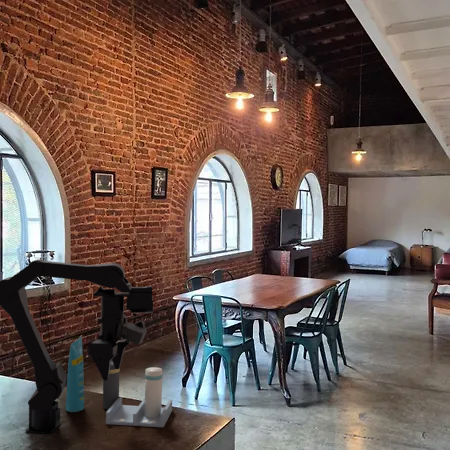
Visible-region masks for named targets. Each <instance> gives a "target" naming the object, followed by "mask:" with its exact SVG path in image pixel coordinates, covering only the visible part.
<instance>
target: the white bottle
mask: <svg viewBox="0 0 450 450" xmlns="http://www.w3.org/2000/svg"><path fill="white" fill-rule="evenodd" d="M144 374H145V375H144V378H145V379H144V380H145V382H144V398H145V417H147V418H157V417H160V415H161V407H162V395H163V393H162V392H163V368H161V367H157V366H156V367H155V366H154V367H151V366H150V367H147V368H146V369H145V373H144Z"/></svg>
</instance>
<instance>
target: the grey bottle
mask: <svg viewBox="0 0 450 450" xmlns="http://www.w3.org/2000/svg"><path fill="white" fill-rule="evenodd" d="M120 371H121V370H120V368H119V369H115V367H114V364H113V361H111V366H110V372H109V377H108V380H103V379H102V409H103V410H107V411H108V409H109V408H110V407H111V406H112V405H113V404H114V403H115V401H116V400H117V399H118V398H119V397H120Z"/></svg>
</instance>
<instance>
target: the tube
mask: <svg viewBox="0 0 450 450" xmlns="http://www.w3.org/2000/svg"><path fill="white" fill-rule="evenodd" d="M83 351H84V349H83V340H82V336H80V337H78V339H77V340H75V341H74V342H71V344H70V349H69V355H68V363H67V376H66V396H65V397H66V398H65V411H66V412H69V413H78V412H80V411H83V410H84V409H85V385H84V384H85V383H84V382H85V381H84V380H85V375H84V374H85V373H84V354H83V353H84V352H83Z"/></svg>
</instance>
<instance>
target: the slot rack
mask: <svg viewBox="0 0 450 450" xmlns="http://www.w3.org/2000/svg"><path fill="white" fill-rule="evenodd" d="M172 412H173V399H169V400H168V401H167V403H166V404H165V406H164V407H162V406H161V415H160V417H157V418H147V417H145V397H144V398H143V399H142V401H141V402H140V403H139V405H126V404H123V397H122V396H119V398H118V399H117V400H116V401H115V403H114V404H113V405H112V406H111V407H110V408H109V409H108V410H107V411H106V412H105V425H116V426H117V425H118V426H136V427H149V428H150V427H151V428H153V427H154V428H164V427H165V425H166V423H167V422H168V419H169V417H170V416H171V413H172Z"/></svg>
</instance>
